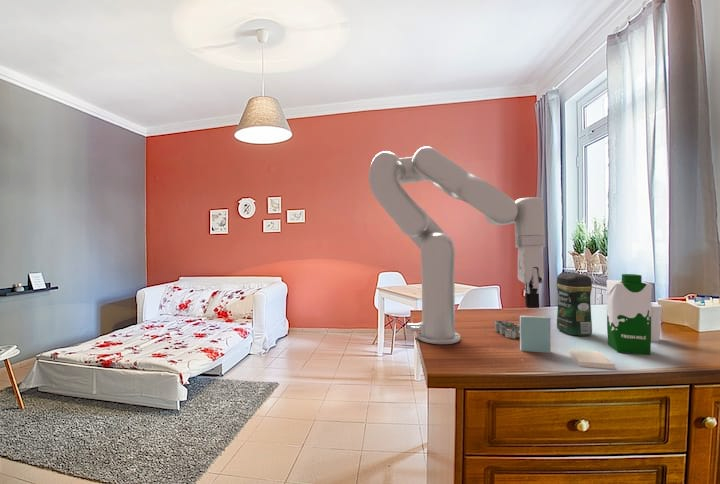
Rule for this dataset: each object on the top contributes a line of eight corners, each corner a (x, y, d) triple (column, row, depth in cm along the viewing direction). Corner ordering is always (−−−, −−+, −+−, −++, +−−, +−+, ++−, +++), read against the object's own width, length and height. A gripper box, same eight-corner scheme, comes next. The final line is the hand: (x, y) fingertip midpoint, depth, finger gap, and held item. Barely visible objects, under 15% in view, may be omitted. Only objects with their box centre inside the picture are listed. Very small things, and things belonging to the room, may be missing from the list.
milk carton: (614, 353, 88) (614, 275, 88) (602, 342, 97) (602, 272, 97) (656, 356, 86) (656, 276, 85) (640, 345, 94) (640, 272, 94)
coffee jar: (552, 328, 112) (551, 271, 112) (575, 328, 113) (575, 271, 113) (571, 337, 103) (571, 275, 103) (597, 336, 103) (597, 274, 103)
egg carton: (530, 339, 102) (530, 325, 102) (506, 339, 102) (506, 326, 102) (514, 329, 113) (514, 317, 113) (492, 329, 113) (492, 317, 113)
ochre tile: (568, 355, 89) (579, 368, 80) (567, 349, 89) (579, 361, 80) (599, 357, 87) (614, 371, 78) (599, 351, 87) (614, 364, 78)
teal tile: (521, 350, 91) (521, 316, 91) (520, 348, 93) (519, 315, 93) (550, 352, 90) (550, 318, 89) (548, 350, 91) (548, 316, 91)
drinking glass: (662, 343, 96) (662, 307, 96) (632, 339, 100) (632, 305, 100) (660, 337, 101) (660, 303, 101) (631, 334, 105) (631, 301, 105)
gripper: (510, 242, 105) (512, 302, 105) (521, 243, 90) (523, 313, 90) (537, 241, 103) (539, 302, 103) (552, 241, 88) (555, 313, 89)
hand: (532, 307), depth 97 cm, fingers closed
